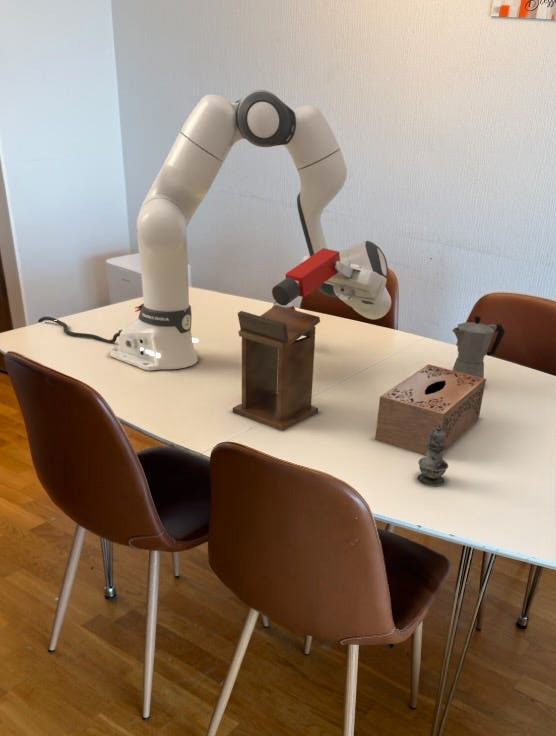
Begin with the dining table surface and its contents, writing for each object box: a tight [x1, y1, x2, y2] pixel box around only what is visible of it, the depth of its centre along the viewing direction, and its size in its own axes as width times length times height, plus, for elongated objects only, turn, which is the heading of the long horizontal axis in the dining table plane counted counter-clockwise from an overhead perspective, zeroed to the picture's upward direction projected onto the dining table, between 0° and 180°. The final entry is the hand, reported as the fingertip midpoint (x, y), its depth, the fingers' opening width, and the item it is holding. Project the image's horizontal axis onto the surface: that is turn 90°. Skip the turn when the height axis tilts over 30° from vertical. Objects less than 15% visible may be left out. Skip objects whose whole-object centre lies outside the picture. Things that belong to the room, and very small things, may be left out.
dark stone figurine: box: [417, 424, 449, 487], centre depth 137 cm, size 6×6×12 cm
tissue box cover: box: [374, 363, 487, 456], centre depth 159 cm, size 26×14×10 cm, turn 151°
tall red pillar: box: [271, 248, 340, 306], centre depth 154 cm, size 19×4×9 cm, turn 146°
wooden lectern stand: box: [232, 305, 321, 432], centre depth 156 cm, size 14×14×23 cm
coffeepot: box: [452, 315, 506, 378], centre depth 184 cm, size 15×9×18 cm, turn 113°
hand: (324, 261), depth 157 cm, fingers closed on tall red pillar, 4 cm apart
